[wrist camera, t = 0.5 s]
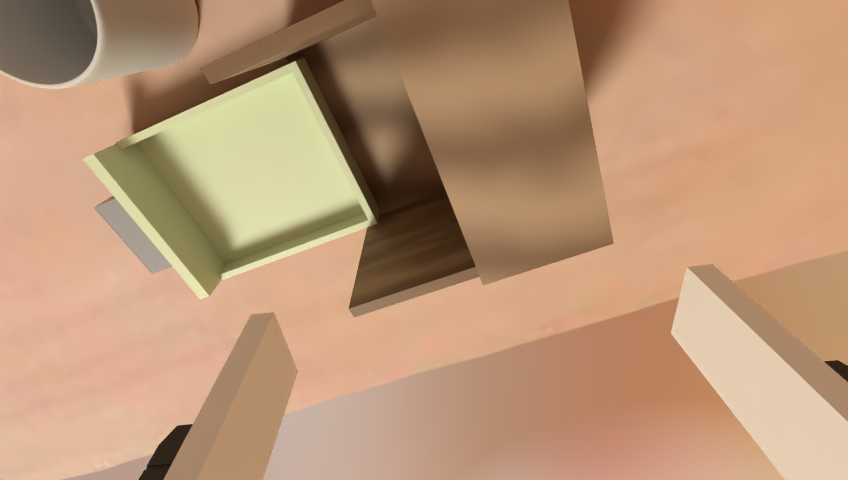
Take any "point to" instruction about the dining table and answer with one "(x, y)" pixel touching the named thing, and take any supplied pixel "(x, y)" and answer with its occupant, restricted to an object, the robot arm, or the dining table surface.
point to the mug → (92, 39)
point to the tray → (235, 181)
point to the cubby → (454, 135)
